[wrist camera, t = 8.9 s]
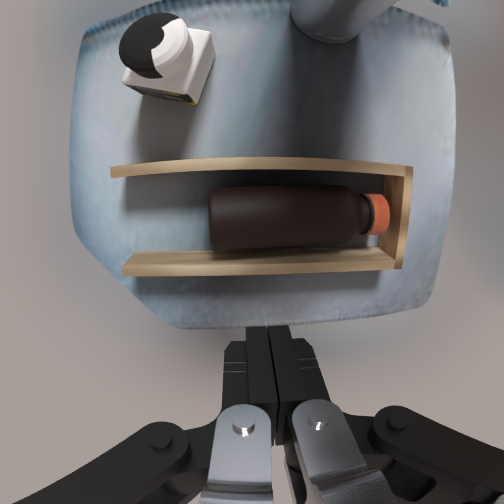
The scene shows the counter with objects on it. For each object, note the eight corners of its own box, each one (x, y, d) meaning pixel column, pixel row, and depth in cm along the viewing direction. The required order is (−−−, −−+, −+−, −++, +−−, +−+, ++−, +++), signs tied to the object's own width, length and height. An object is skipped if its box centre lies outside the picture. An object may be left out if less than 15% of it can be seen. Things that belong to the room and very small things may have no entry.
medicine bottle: (142, 95, 28) (97, 71, 17) (161, 44, 26) (129, 2, 15) (197, 106, 29) (174, 82, 18) (216, 53, 27) (206, 8, 16)
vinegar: (207, 208, 26) (400, 205, 27) (209, 177, 31) (374, 176, 32) (212, 264, 30) (384, 253, 32) (213, 227, 35) (363, 221, 37)
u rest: (127, 164, 31) (110, 167, 26) (392, 164, 32) (413, 167, 28) (136, 260, 35) (123, 276, 31) (384, 254, 36) (401, 268, 32)
